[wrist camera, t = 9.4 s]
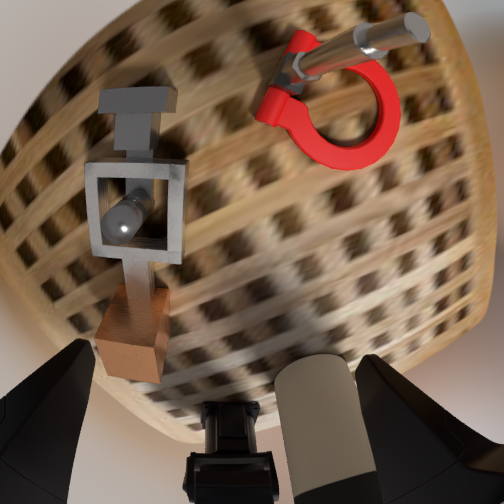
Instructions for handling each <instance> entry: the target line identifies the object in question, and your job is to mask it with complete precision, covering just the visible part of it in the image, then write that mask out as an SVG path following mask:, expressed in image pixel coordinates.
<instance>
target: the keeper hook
mask: <svg viewBox="0 0 504 504" xmlns="http://www.w3.org/2000/svg"><path fill="white" fill-rule="evenodd" d="M177 94H178V91H176V90H174V89H172V88H170V87H130V88H115V89H104V90H100V96H99V106H98V114H116V118H115V133H114V150H127V152H126V158H155V148H156V147H158V146H159V132H160V121H161V113H175V111H176V102H177ZM153 189H154V179H146V178H126V196H125V197H124V198H123V199H122V200H120V201H119V202H118V203H117V204H116V205H115V206H113V207H112V208H111V209H110V210H109V211H108V212H107V213H105V215H104V216H103V218H102V220H101V230H102V233H103V235H104V236H105V238H106V239H107V240H108V241H110V242H111V243H114V244H117V245H122V244H126V243H128V242H129V241H130V240H131V239H132V237H133V236H134V235H135V233H136V232H137V231H138V229H139V228H140V226H141V225H142V224H143V222H144V221H145V220H146V218H147V217H148V216H149V215H150V213H151V212H152V211H153V209H154V205H155V201H154V197H153Z"/></svg>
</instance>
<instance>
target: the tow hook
mask: <svg viewBox="0 0 504 504" xmlns="http://www.w3.org/2000/svg"><path fill="white" fill-rule="evenodd" d="M430 36H431V32H430V28H429V26H428V24H427V22H426V21H425V20H424V19H423V18H422V17H421V16H420V15H419V14H417V13H414V12H408V13H405V14H403V15H400V16H397V17H394V18H392V19H389V20H386V21H384V22H381V23H379V24H376V25H374V24H371V23H360V24H358V25H356V26H354V27H352V28H350V29H348V30H346V31H344V32H342V33H341V34H339V35H337V36H335V37H333V38H331V39H329V40H328V41H326V42H324V43H320V42H318V41H316V37H315V36H314V35H312V34H311V33H309V32H306V31H303V30H296V31H295V33H294V35H293V37H292V39H291V41H290V43H289V45H288V47H287V49H286V51H285V53H284V55H283V57H282V58H280V60H279V62H278V64H277V66H276V68H275V71H274V73H273V75H272V77H271V79H270V81H269V83H268V90H267V92H266V94H265V96H264V98H263V101H262V103H261V105H260V107H259V110H258V112H257V114H256V117H255V120H257V121H258V122H260V123H263V124H265V125H268V126H270V127H276V126H277V125H278V126H280V127H282V128H285V129H287V130H288V133H289V135H290V137H291V138H292V140H293V141H294V142H295V143H296V145H297V146H298V147H299V149H300V150H301V151H302V152H304V153H305V154H306V155H308V156H309V157H310V158H311V159H313V160H314V161H316V162H318V163H320V164H323V165H325V166H327V167H330V168H332V169H340V170H355V169H362V168H364V167H366V166H368V165H371V164H373V163H375V162H376V161H377V160H379V159H380V158H381V157H382V156H384V155H385V154H386V152H387V151H388V150H389V148H390V147H391V145H392V144H393V143H394V140H395V138H396V135H397V133H398V130H399V125H400V117H401V110H400V101H399V97H398V94H397V91H396V88H395V85H394V83H393V81H392V80H391V78H390V77H389V75H388V73H387V72H386V70H385V69H384V68H383V67H382V66H381V65H380V64H379V63H378V62H377V61H376V60H379V59H382V58H384V57H385V56H387V54H388V52H389V50H390V49H395V48H399V47H404V46H409V45H414V44H419V43H425V42H427V41H429V39H430ZM342 68H343V69H347V70H351V71H353V72H355V73H357V74H359V75H361V76H362V77H363V78H364V79H365V80H366V81H367V82H368V83H369V84H370V86H371V87H372V89H373V90H374V92H375V94H376V97H377V100H378V106H379V116H378V122H377V124H376V127H375V129H374V131H373V132H372V134H371V135H370V136H369V137H368V138H367V139H366V140H364V141H363V142H362V143H360V144H357V145H355V146H349V147H340V146H335V145H333V144H331V143H329V142H328V141H326V140H325V139H324V138H323V137H321V136H320V135H319V133H318V132H317V131H316V129H315V128H314V127H313V124H312V122H311V120H310V117H309V113H308V107H307V106H306V105H305V104H304V103H302V102H300V101H298V100H296V99H294V98H292V97H290V96H293V95H298V94H301V92H302V90H303V88H304V86H305V84H307V83H311V82H314V81H318V80H320V78H321V77H322V75H323V74H325V73H329V72H332V71H335V70H339V69H342Z"/></svg>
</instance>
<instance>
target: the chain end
mask: <svg viewBox="0 0 504 504" xmlns="http://www.w3.org/2000/svg"><path fill="white" fill-rule="evenodd" d="M84 169H85V190H86V204H87V215H88V224H89V233H90V240H91V248H92V254H93V256H99V257H109V258H119V259H122V261H123V270H124V277H125V284H120V285H119V287H118V289H117V291H116V293H115V295H114V297H113V299H112V301H111V303H110V305H109V307H108V309H107V312H106V314H105V316H104V318H103V320H102V322H101V324H100V327H99V329H98V331H97V333H96V336H95V338H94V339H95V342H96V345H97V348H98V350H99V353H100V356H101V359H102V361H103V364H104V367H105V369H106V372H107V374H108V375H109V376H114V377H119V378H125V379H130V380H136V381H143V382H149V383H157V384H160V382H161V377H162V371H163V365H164V360H165V355H166V349H167V344H168V339H169V334H170V329H171V318H170V301H169V289H165V288H155V280H154V263H153V262H162V263H173V264H182V260H183V256H184V253H185V224H186V201H187V184H188V170H189V160H181V159H160V158H94V159H92V160H90V161H87V162H85V163H84ZM107 177H114V178H146V179H167V180H169V185H168V239H160V238H147V237H135V236H133V237H132V239H131V240H130V241H129V242H128V243H126V244H122V245H117V244H114V243H111V242H110V241H108V240H107V239H106V238H105V236H104V235H103V233H102V230H101V220H102V218H103V216H104V215H105V213H107V212H108V211H109V206H108V184H107Z"/></svg>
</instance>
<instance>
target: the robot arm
mask: <svg viewBox="0 0 504 504" xmlns="http://www.w3.org/2000/svg"><path fill="white" fill-rule="evenodd" d="M94 367H95V356H94V353H93V350H92V347H91V344H90V342H89V341H88V340H85V339H81V338H78V339H76V340H74V341H73V342H72V343H70V344H69V345H68V346H66V347H65V348H64V349H62V350H61V351H60V352H59V353H57V354H56V355H55V356H53V357H52V358H51V359H50V360H48V361H47V362H46V363H44V364H43V365H42V366H41V367H39V368H38V369H37V370H36V371H35V372H33V373H32V374H31V375H29V376H28V377H27V378H26V379H24V380H23V381H22V382H21V383H19V384H18V385H17V386H16V387H15V388H13V389H12V390H11V391H10V392H9V393H7V394H6V396H4V397H2V398H1V399H0V504H67V498H68V491H69V485H70V479H71V473H72V468H73V462H74V458H75V453H76V448H77V444H78V440H79V435H80V431H81V427H82V423H83V419H84V416H85V412H86V408H87V404H88V400H89V394H90V388H91V383H92V378H93V372H94ZM355 379H356V384H357V390H358V396H359V402H360V408H361V413H362V417H363V420H364V424H365V428H366V431H367V435H368V439H369V443H370V446H371V450H372V454H373V458H374V462H375V467H376V471H377V475H378V479H379V484H380V488H381V493H382V498H383V502H384V504H504V444H498V443H495V442H492V441H490V440H489V439H487V438H486V437H484V436H482V435H481V434H479V433H477V432H476V431H474V430H473V429H471V428H470V427H468V426H467V425H465V424H464V423H462V422H461V421H460V420H458V419H457V418H456V417H454V416H453V415H452V414H451V413H449V412H448V411H447V410H445V409H444V408H443V407H442V406H440V405H439V404H438V403H437V402H435V401H434V400H433V399H432V398H430V397H429V396H428V395H426V394H425V393H424V392H423V391H421V390H420V389H419V388H418V387H416V386H415V385H414V384H413V383H411V382H410V381H409V380H408V379H406V378H405V377H404V376H403V375H401V374H400V373H399V372H397V371H396V370H395V369H394V368H392V367H391V366H390V365H389V364H387V363H386V362H385V361H384V360H382V359H381V358H380V357H379V356H377V355H376V354H368V355H364V356H363V358H362V360H361V361H360V363H359V365H358V367H357V369H356V371H355ZM259 410H260V405H259V404H257V403H216V402H203V403H202V428H203V429H205V453H196V452H191V454H190V456H189V457H187V465H186V473H185V477H184V482H183V490H184V491H185V492H186V493H187V496H188V498H189V501H190V503H195V504H274V501H278V500H279V484H278V478H277V474H276V469H275V465H274V460H273V455H272V451H267V452H260V453H257V446H256V437H255V428H254V426H255V423H256V419H257V416H258V413H259Z"/></svg>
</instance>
